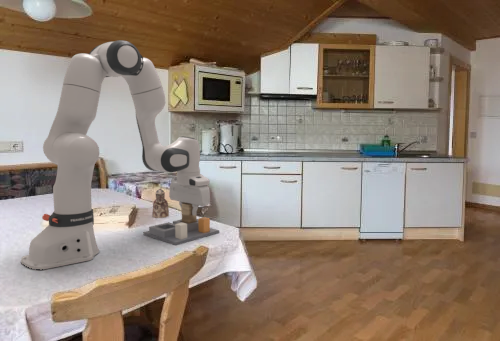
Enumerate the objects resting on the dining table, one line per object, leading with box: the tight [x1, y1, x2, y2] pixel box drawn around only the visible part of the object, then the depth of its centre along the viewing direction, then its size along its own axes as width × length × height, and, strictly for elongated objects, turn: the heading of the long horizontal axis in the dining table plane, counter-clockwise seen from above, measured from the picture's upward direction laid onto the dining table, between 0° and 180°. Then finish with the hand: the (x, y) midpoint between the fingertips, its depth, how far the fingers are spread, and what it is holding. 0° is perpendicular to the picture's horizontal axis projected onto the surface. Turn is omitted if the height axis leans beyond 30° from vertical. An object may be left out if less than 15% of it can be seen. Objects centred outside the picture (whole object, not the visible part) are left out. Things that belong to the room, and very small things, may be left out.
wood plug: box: [181, 203, 198, 224], centre depth 165 cm, size 4×4×8 cm
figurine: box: [151, 188, 170, 219], centre depth 187 cm, size 7×7×12 cm
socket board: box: [143, 216, 220, 246], centre depth 160 cm, size 21×19×6 cm
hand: (189, 214), depth 165 cm, fingers closed on wood plug, 4 cm apart
